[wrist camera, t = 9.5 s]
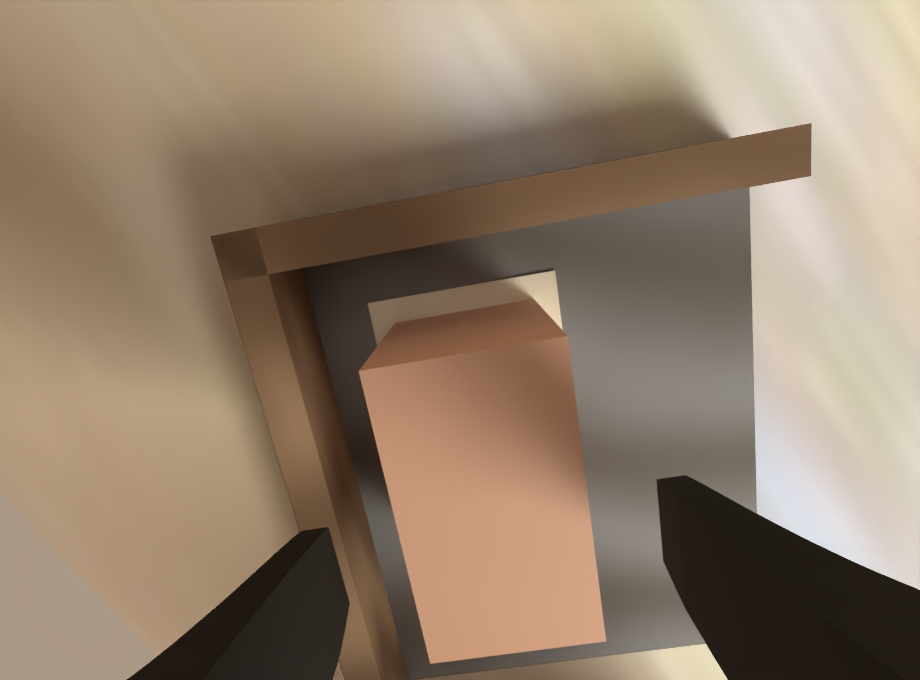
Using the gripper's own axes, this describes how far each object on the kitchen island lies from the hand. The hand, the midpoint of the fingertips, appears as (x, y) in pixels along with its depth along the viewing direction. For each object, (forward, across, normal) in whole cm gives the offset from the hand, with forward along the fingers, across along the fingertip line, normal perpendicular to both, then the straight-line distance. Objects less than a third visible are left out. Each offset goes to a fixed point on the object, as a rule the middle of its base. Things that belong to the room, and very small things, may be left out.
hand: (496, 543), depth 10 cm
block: (+6, 0, 0) cm, 6 cm away
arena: (+6, -2, +1) cm, 7 cm away
